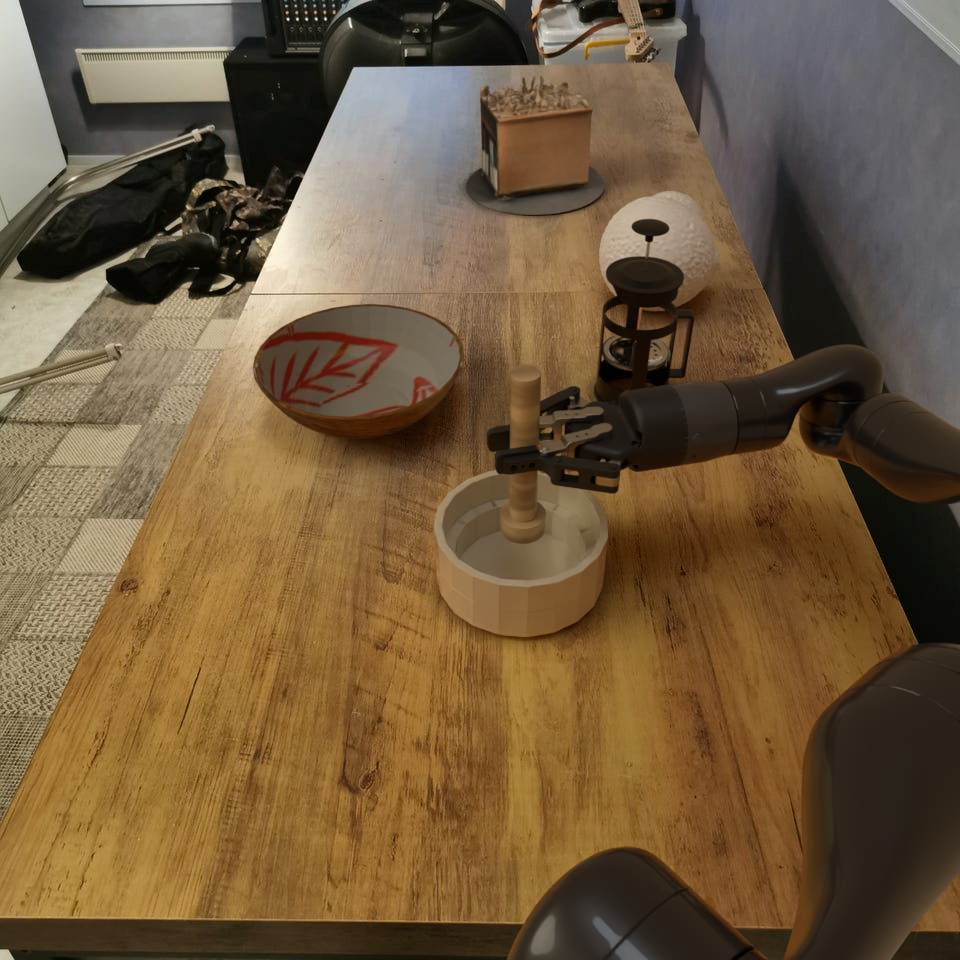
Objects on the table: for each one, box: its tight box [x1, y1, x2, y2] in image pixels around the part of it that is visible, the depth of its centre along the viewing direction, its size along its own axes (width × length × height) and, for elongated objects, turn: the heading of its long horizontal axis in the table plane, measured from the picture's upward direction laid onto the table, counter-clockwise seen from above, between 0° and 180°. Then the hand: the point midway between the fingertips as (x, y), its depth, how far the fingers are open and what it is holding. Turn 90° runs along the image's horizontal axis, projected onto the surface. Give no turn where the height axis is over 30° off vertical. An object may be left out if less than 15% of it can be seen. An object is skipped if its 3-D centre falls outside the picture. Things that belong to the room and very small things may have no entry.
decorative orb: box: [598, 190, 721, 312], centre depth 131 cm, size 20×18×16 cm
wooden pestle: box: [500, 363, 546, 544], centre depth 83 cm, size 4×4×18 cm
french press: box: [593, 219, 695, 402], centre depth 110 cm, size 12×9×23 cm
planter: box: [465, 74, 605, 216], centre depth 162 cm, size 25×25×19 cm
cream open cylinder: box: [433, 469, 609, 638], centre depth 91 cm, size 17×17×8 cm
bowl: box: [252, 303, 465, 440], centre depth 113 cm, size 25×25×8 cm
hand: (492, 451), depth 82 cm, fingers closed on wooden pestle, 2 cm apart
